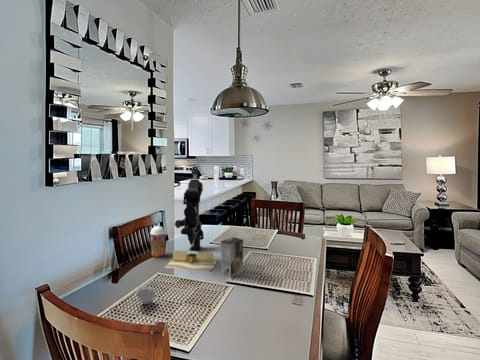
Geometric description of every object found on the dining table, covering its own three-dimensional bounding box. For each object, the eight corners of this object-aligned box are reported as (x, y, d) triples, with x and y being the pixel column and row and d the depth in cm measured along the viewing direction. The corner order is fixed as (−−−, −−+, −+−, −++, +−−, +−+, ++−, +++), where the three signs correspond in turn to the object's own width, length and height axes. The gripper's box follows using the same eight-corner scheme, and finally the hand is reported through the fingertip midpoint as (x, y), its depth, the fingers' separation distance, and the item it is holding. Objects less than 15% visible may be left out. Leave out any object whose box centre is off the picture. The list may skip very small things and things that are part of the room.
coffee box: (233, 268, 143) (233, 236, 142) (243, 272, 139) (243, 239, 138) (220, 274, 136) (220, 240, 135) (230, 277, 132) (231, 243, 131)
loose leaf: (198, 260, 152) (198, 251, 152) (213, 260, 152) (213, 252, 152) (197, 261, 151) (197, 252, 151) (212, 261, 150) (212, 253, 150)
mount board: (174, 258, 158) (174, 256, 158) (218, 260, 156) (218, 258, 156) (164, 268, 142) (164, 267, 142) (211, 271, 140) (211, 270, 140)
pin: (195, 245, 153) (195, 231, 152) (193, 247, 150) (193, 232, 149) (190, 245, 153) (189, 231, 153) (188, 247, 150) (188, 232, 150)
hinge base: (175, 258, 156) (175, 249, 155) (198, 259, 154) (198, 250, 154) (171, 261, 150) (171, 252, 150) (195, 263, 149) (195, 253, 149)
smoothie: (149, 259, 155) (149, 223, 154) (150, 254, 163) (149, 219, 162) (165, 258, 157) (165, 222, 156) (165, 253, 165) (165, 219, 164)
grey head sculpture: (133, 303, 108) (132, 285, 107) (150, 297, 113) (150, 280, 112) (140, 309, 103) (140, 290, 103) (158, 303, 108) (158, 285, 108)
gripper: (182, 210, 160) (182, 238, 162) (170, 217, 142) (170, 248, 143) (201, 211, 159) (201, 239, 160) (192, 218, 141) (192, 249, 142)
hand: (191, 243), depth 151 cm, fingers closed on pin, 2 cm apart
